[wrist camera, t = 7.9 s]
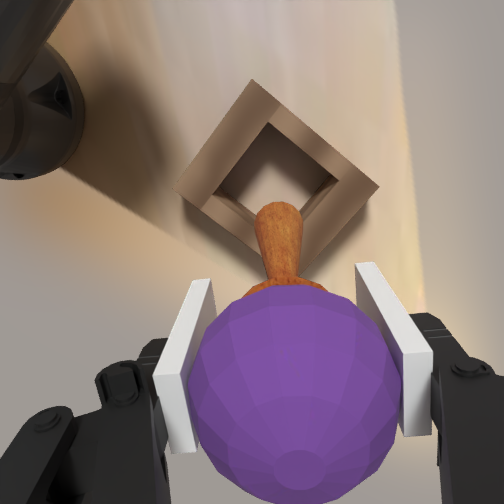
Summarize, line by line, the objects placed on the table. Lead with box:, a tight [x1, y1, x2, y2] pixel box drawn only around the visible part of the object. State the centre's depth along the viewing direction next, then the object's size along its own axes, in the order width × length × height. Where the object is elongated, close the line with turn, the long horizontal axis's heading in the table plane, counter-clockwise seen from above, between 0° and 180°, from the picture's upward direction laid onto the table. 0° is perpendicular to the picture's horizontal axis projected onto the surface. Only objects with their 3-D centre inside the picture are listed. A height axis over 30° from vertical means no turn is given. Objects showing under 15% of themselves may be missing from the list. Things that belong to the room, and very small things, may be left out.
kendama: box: [187, 202, 402, 504], centre depth 19 cm, size 6×6×20 cm
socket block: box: [172, 79, 379, 277], centre depth 44 cm, size 16×13×5 cm
